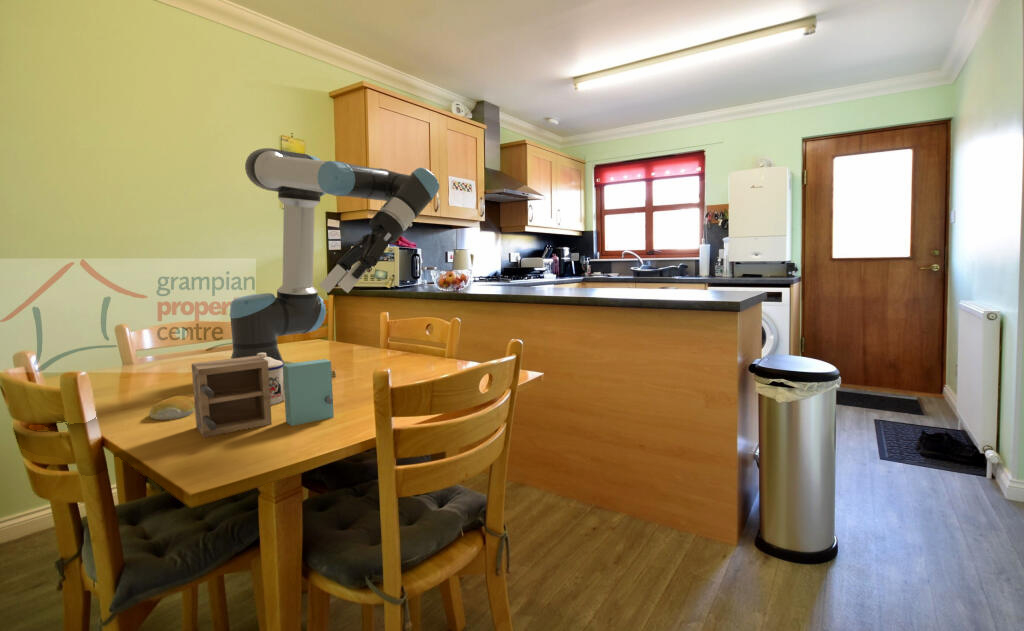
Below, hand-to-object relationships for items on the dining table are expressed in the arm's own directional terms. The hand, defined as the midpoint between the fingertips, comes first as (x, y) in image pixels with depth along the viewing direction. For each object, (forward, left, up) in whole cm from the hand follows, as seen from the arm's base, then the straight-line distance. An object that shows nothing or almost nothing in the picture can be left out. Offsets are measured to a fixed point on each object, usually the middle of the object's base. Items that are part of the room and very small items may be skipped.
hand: (332, 288), depth 115 cm
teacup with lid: (-15, -10, -27) cm, 32 cm away
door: (+6, -8, -27) cm, 29 cm away
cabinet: (+3, -21, -27) cm, 34 cm away
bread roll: (-18, -30, -27) cm, 44 cm away
